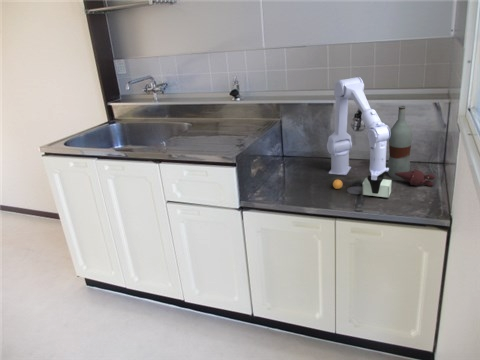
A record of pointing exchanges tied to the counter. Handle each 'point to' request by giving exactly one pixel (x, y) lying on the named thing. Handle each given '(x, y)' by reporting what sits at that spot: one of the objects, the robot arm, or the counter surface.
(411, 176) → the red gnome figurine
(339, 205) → the counter surface
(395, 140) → the bottle
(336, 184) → the ball
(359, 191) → the spot
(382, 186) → the pale green block
